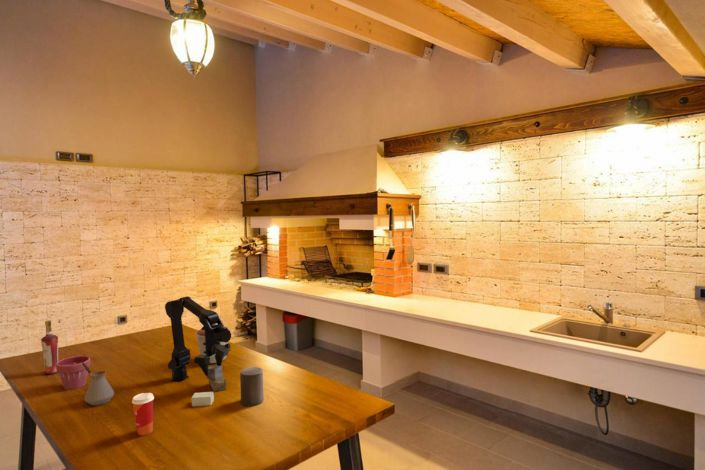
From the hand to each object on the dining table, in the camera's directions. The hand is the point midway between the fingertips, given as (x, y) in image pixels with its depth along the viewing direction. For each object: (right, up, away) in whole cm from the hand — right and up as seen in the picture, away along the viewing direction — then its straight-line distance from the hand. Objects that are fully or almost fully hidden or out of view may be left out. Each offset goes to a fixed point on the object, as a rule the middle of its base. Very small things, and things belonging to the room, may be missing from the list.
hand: (213, 372), depth 207 cm
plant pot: (-70, -9, +8) cm, 71 cm away
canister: (-11, -6, +38) cm, 40 cm away
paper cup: (-14, -11, -39) cm, 43 cm away
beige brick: (+1, -9, -16) cm, 18 cm away
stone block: (+2, -8, +1) cm, 8 cm away
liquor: (-94, -9, +26) cm, 98 cm away
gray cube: (+1, -3, +1) cm, 3 cm away
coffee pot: (-51, -10, -8) cm, 53 cm away
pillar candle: (+22, -8, -15) cm, 28 cm away
